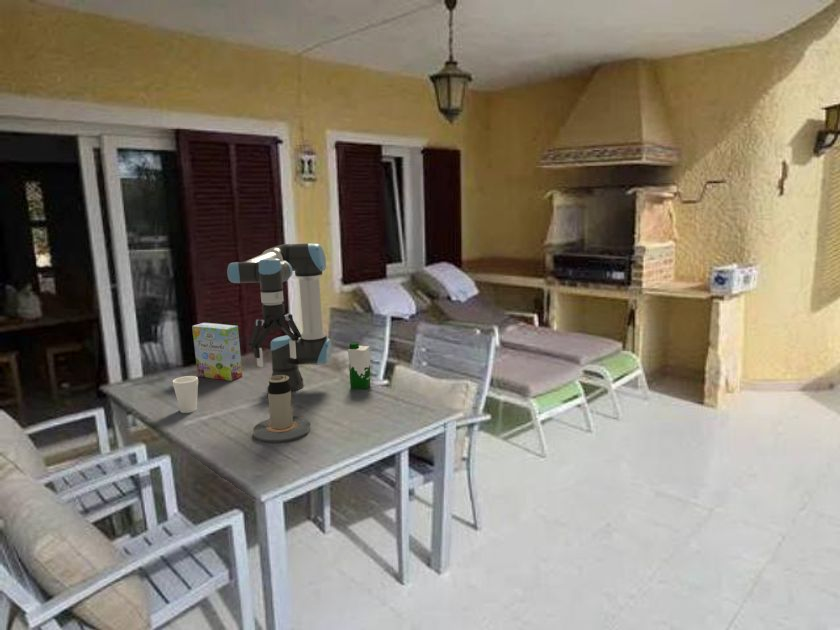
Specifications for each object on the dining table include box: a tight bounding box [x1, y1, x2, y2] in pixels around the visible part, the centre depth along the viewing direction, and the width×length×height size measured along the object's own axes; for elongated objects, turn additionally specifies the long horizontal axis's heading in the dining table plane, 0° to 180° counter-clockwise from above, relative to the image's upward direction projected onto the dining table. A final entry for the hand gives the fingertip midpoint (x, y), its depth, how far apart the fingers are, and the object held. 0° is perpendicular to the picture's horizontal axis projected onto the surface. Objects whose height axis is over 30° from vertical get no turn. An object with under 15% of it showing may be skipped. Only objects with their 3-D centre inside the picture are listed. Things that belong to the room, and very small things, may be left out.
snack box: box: [191, 322, 243, 382], centre depth 270 cm, size 22×9×26 cm, turn 67°
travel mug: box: [267, 375, 294, 429], centre depth 202 cm, size 8×8×18 cm
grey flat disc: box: [252, 415, 311, 444], centre depth 204 cm, size 20×20×2 cm
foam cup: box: [172, 375, 199, 414], centre depth 227 cm, size 10×9×13 cm
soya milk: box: [347, 342, 371, 390], centre depth 251 cm, size 9×9×20 cm
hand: (277, 362), depth 199 cm, fingers open, 13 cm apart
